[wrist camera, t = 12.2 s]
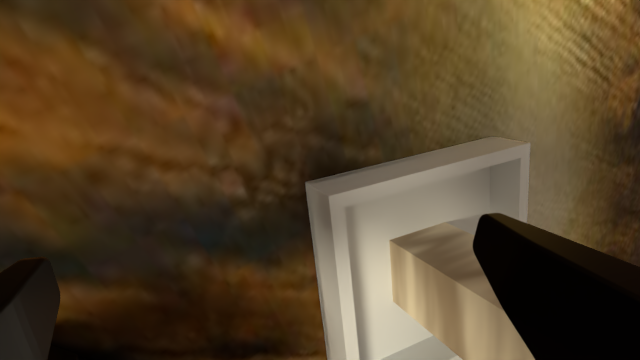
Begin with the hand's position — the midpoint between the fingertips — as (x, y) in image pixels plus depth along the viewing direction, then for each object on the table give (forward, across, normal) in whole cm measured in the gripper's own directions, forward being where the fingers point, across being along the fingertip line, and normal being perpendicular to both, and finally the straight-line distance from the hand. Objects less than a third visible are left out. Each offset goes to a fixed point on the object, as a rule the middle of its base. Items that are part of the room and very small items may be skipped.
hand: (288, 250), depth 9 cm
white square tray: (+13, -11, +12) cm, 21 cm away
